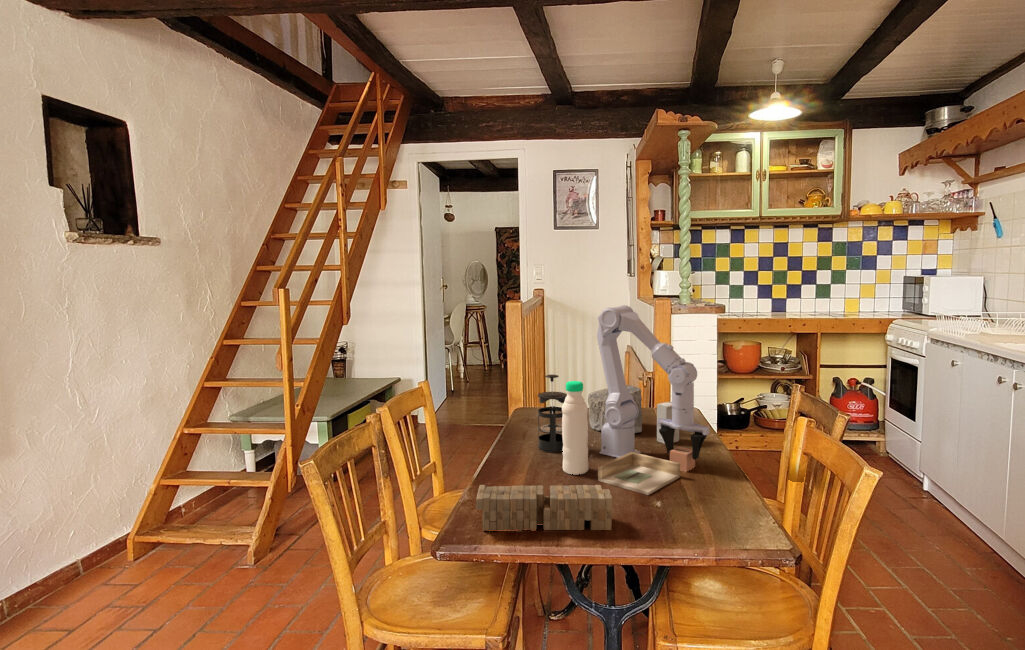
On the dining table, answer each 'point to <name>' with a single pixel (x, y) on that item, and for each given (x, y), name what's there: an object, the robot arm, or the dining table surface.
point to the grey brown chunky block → (599, 408)
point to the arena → (639, 472)
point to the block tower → (545, 507)
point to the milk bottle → (575, 430)
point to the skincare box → (666, 413)
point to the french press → (551, 421)
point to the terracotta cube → (683, 458)
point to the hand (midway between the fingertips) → (682, 455)
